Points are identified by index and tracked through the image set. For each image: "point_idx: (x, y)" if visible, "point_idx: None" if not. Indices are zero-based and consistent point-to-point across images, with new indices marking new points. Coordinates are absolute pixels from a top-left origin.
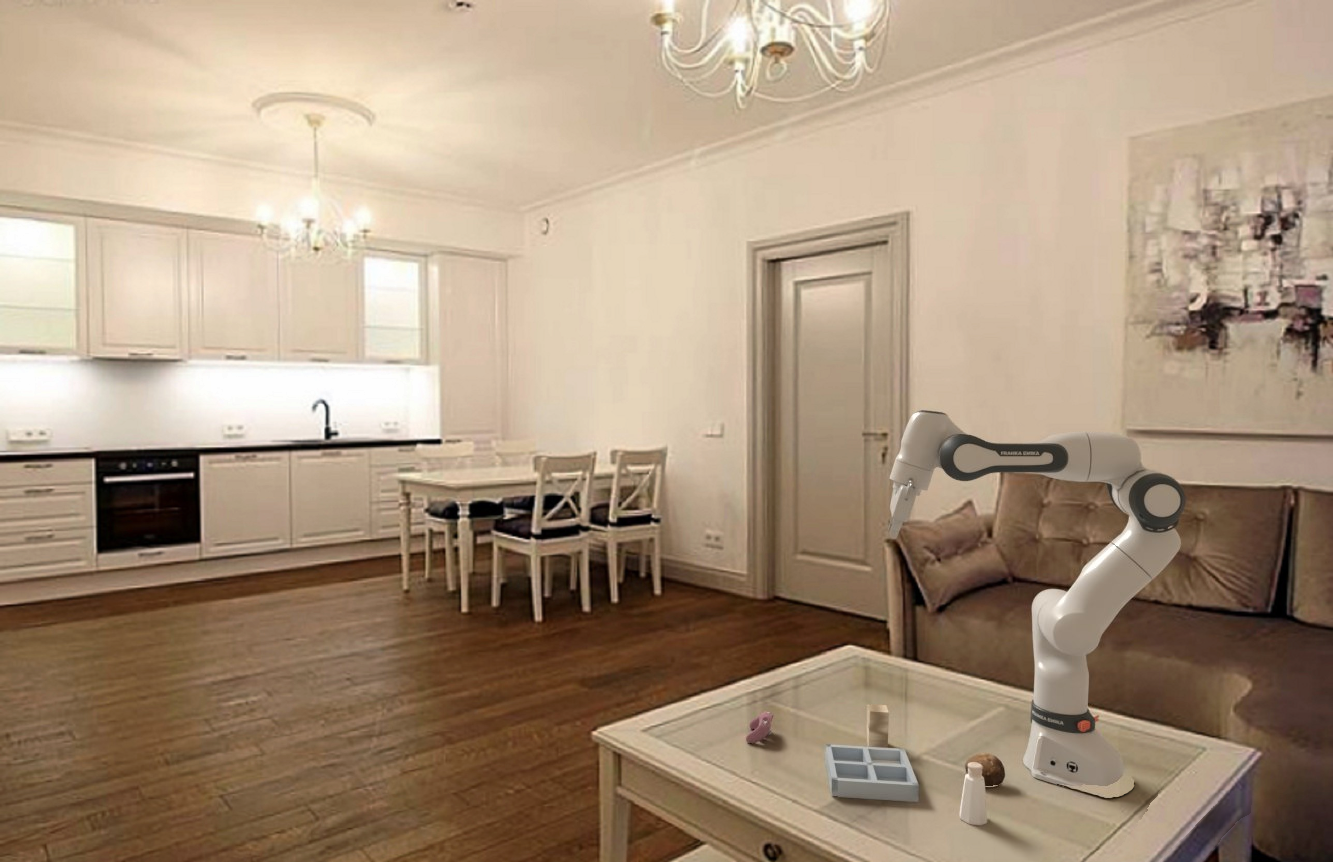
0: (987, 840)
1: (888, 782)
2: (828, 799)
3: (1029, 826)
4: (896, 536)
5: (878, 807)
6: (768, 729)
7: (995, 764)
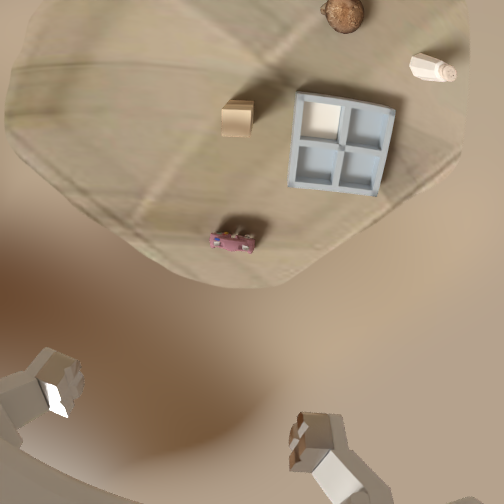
0: None
1: (387, 140)
2: None
3: (433, 21)
4: (341, 424)
5: (396, 150)
6: (253, 241)
7: (356, 3)
